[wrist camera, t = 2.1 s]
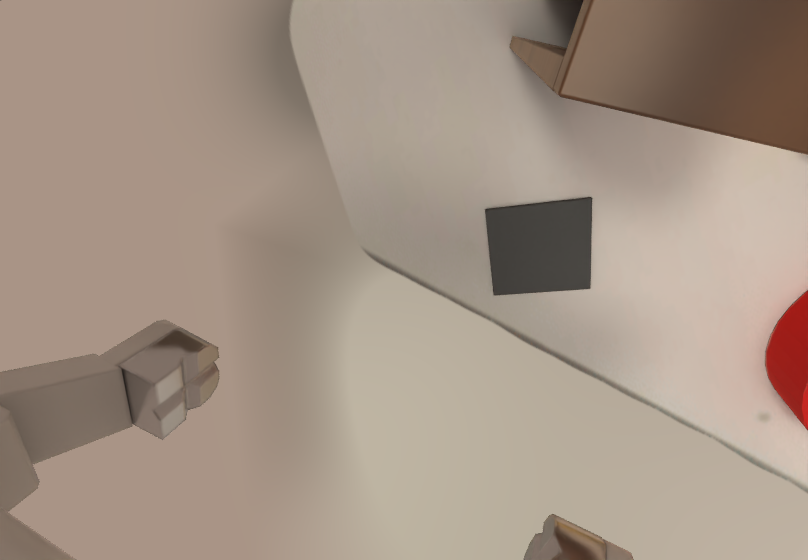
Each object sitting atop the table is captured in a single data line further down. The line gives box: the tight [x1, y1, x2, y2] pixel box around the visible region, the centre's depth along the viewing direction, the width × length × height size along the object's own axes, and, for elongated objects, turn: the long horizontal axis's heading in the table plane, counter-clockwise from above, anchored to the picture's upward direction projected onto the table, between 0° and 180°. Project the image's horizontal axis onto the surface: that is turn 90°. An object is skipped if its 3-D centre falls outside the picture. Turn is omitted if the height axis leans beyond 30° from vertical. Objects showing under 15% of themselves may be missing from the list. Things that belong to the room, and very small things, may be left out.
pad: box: [485, 197, 592, 295], centre depth 41 cm, size 9×9×1 cm
